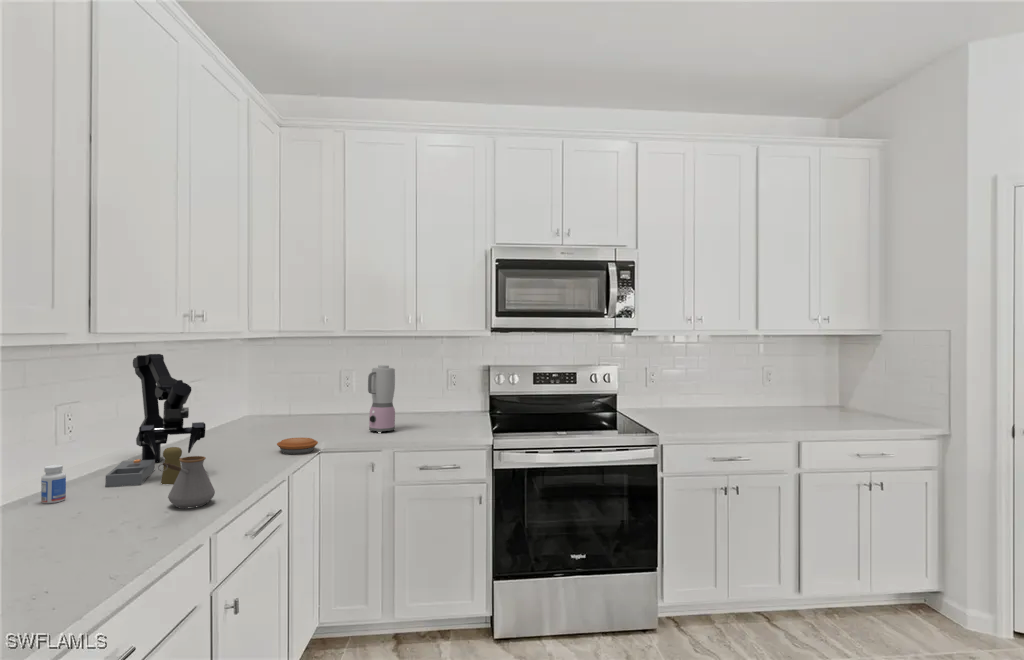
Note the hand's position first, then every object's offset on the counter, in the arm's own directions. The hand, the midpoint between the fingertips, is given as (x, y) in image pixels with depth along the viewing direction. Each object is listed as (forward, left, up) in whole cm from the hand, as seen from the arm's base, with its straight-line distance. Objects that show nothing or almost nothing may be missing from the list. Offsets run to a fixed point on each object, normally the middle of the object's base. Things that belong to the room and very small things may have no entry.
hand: (172, 453), depth 188 cm
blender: (-74, +76, -9) cm, 107 cm away
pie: (-37, +38, -9) cm, 54 cm away
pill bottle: (+15, -27, -9) cm, 32 cm away
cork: (+2, 0, -9) cm, 9 cm away
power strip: (-7, -13, -9) cm, 17 cm away
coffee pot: (+34, +8, -9) cm, 36 cm away
